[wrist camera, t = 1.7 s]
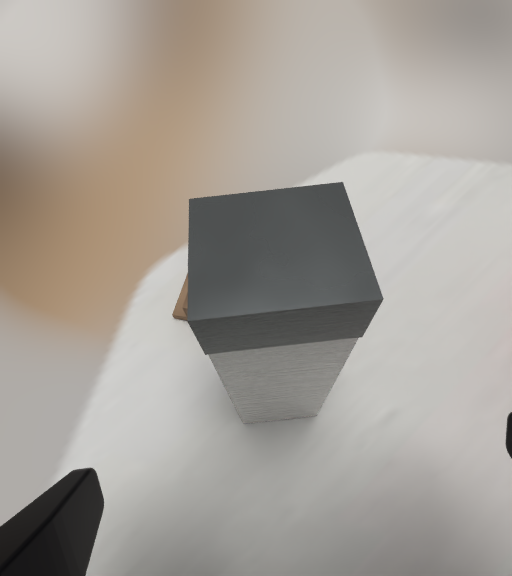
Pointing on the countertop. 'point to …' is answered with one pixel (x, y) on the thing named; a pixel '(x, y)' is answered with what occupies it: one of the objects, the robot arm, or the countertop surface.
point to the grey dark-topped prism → (278, 294)
